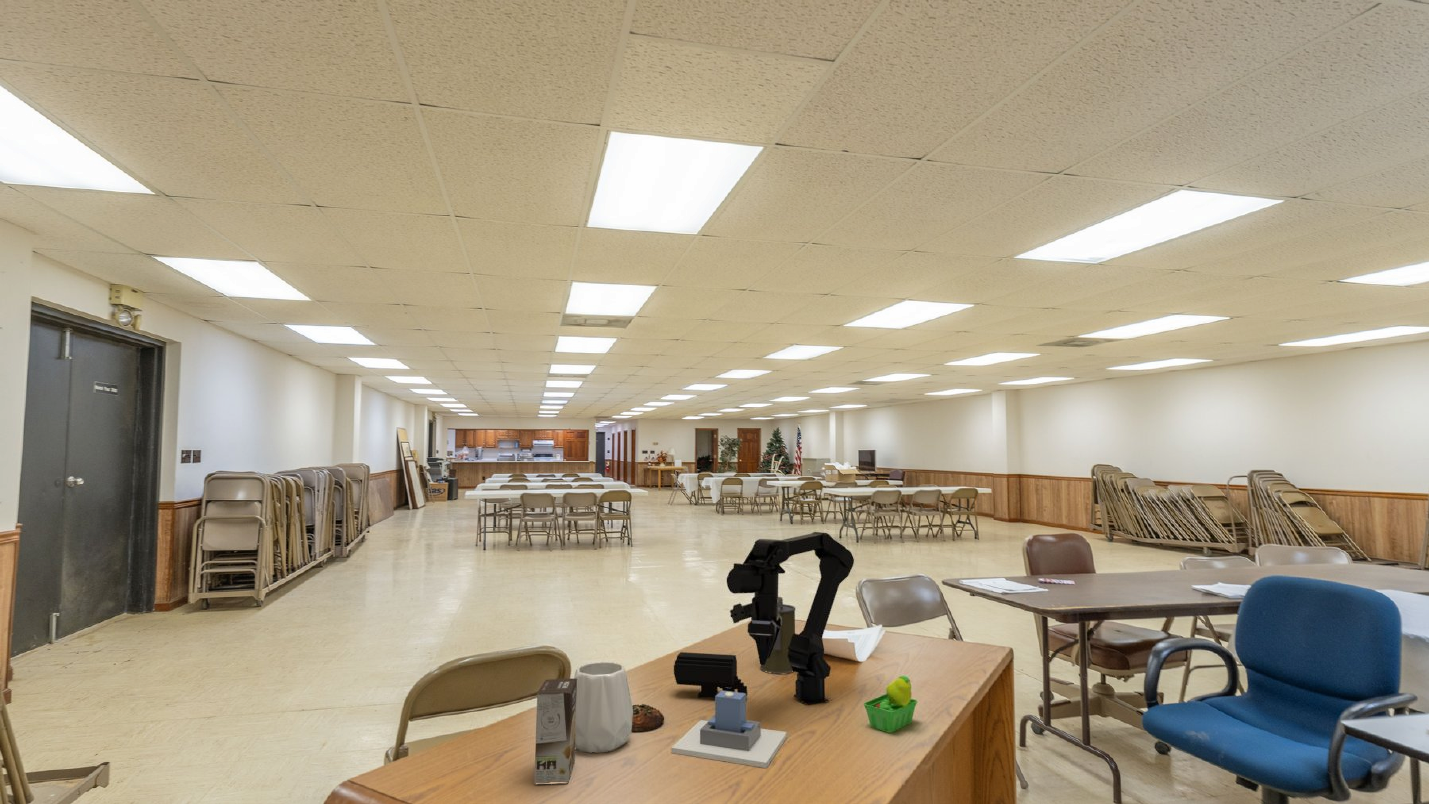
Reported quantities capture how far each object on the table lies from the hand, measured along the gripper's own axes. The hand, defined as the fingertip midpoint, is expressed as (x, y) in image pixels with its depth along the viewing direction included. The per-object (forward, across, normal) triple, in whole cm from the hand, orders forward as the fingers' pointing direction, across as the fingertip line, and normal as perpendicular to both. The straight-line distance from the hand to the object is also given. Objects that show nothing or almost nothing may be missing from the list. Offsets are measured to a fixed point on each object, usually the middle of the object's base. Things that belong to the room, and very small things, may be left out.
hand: (764, 661), depth 155 cm
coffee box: (+17, +36, -35) cm, 53 cm away
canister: (+8, -38, 0) cm, 39 cm away
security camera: (+12, -12, -15) cm, 22 cm away
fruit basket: (+12, -1, +29) cm, 32 cm away
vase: (+15, +21, -32) cm, 41 cm away
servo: (+13, +17, -5) cm, 22 cm away
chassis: (+14, +16, -5) cm, 22 cm away
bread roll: (+14, +9, -27) cm, 32 cm away
